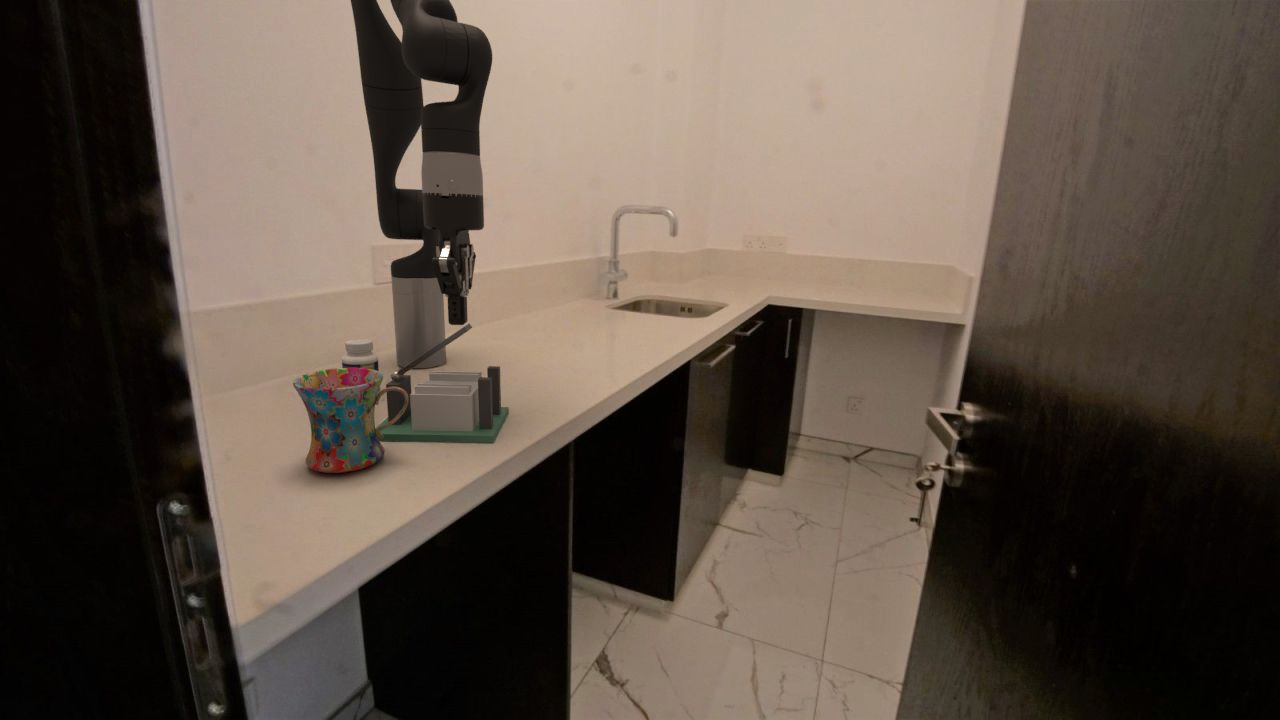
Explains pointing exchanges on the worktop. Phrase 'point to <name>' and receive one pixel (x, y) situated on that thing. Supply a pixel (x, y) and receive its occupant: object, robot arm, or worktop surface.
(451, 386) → the heatsink base
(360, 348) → the pill bottle
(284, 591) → the worktop surface
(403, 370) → the strap
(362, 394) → the mug
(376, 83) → the robot arm
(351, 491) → the worktop surface
